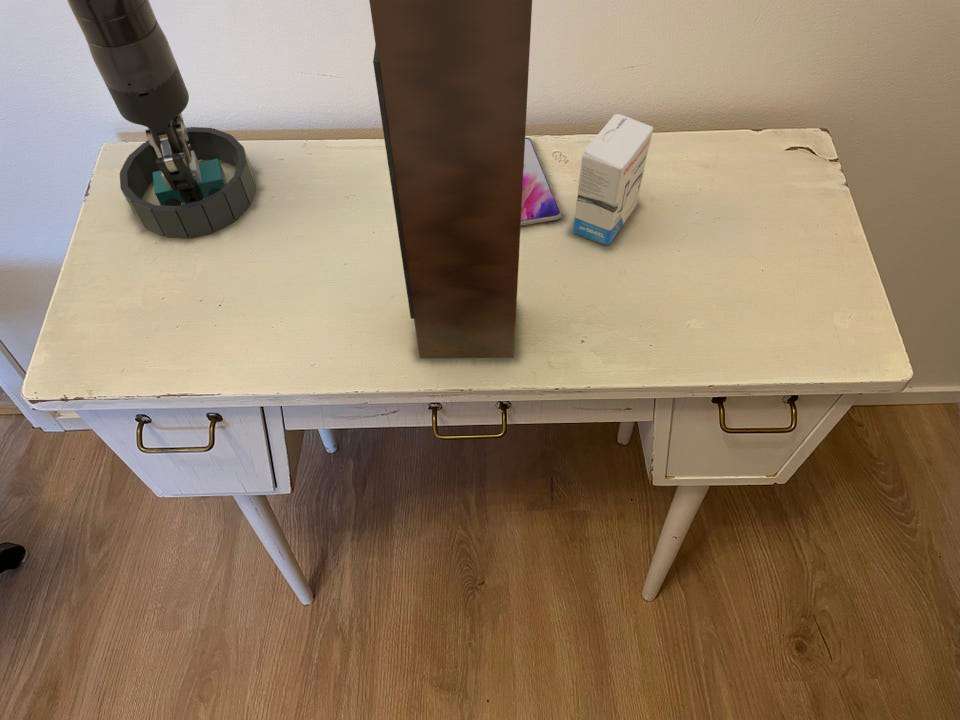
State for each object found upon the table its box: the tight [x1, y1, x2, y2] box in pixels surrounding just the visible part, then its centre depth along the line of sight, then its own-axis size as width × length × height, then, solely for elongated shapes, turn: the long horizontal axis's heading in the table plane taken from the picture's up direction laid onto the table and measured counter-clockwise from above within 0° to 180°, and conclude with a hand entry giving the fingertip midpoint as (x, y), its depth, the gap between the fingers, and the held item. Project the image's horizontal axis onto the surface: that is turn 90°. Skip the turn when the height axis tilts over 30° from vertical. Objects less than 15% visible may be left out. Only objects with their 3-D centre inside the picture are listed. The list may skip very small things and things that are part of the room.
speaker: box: [368, 0, 533, 359], centre depth 62 cm, size 10×7×40 cm
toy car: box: [152, 151, 227, 206], centre depth 89 cm, size 8×5×5 cm, turn 108°
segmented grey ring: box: [119, 126, 257, 239], centre depth 89 cm, size 15×15×4 cm
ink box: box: [572, 113, 654, 247], centre depth 83 cm, size 9×5×12 cm, turn 148°
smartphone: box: [521, 136, 562, 226], centre depth 91 cm, size 7×1×15 cm
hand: (193, 189), depth 90 cm, fingers closed on toy car, 4 cm apart
